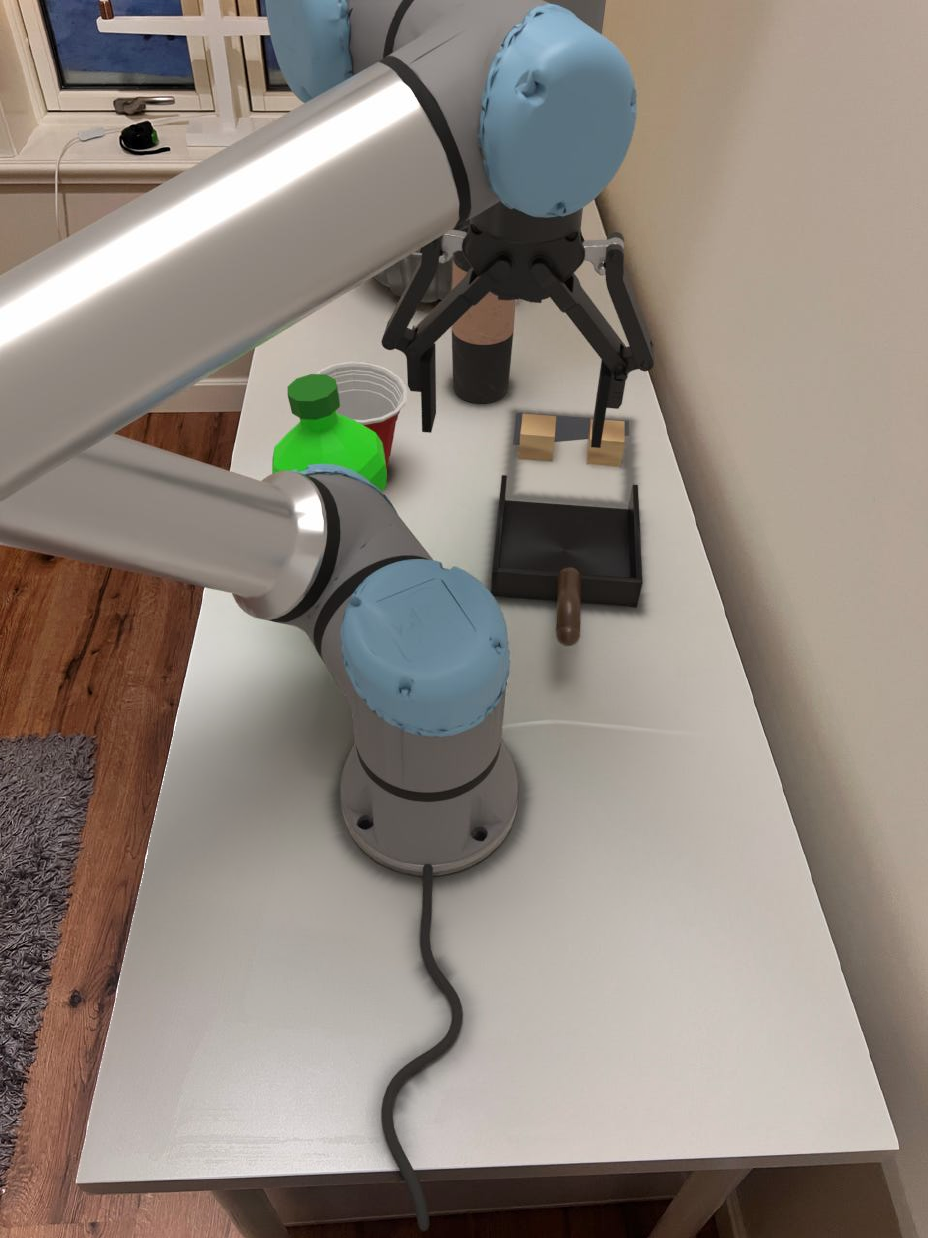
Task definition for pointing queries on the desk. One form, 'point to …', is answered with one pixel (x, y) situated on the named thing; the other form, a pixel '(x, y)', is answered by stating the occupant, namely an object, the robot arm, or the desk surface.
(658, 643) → the desk surface
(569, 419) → the mat
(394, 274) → the bundt pan
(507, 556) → the pan
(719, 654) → the desk surface
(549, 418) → the block
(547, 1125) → the desk surface
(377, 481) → the plastic bottle
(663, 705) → the desk surface
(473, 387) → the travel mug
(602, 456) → the block
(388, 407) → the plastic cup
